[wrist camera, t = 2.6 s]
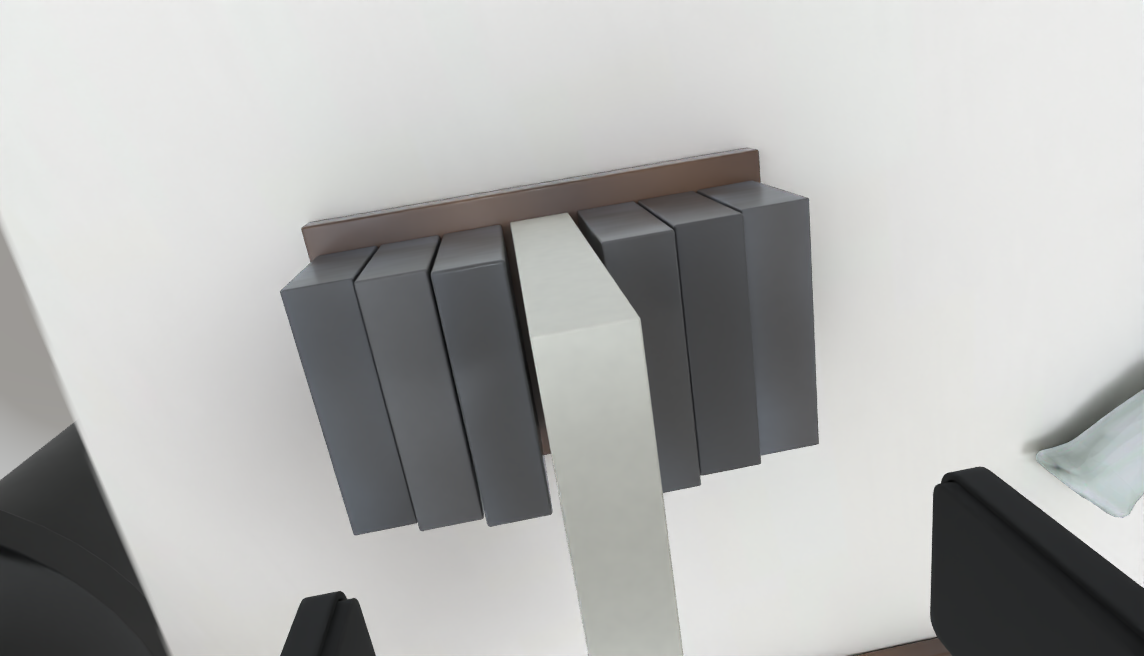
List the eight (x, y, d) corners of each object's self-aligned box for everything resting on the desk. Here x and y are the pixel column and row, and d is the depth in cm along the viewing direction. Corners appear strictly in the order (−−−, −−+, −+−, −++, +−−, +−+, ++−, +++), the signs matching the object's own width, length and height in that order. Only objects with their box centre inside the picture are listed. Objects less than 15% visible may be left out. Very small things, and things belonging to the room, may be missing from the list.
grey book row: (378, 475, 27) (346, 586, 21) (307, 222, 24) (244, 265, 18) (766, 400, 28) (844, 485, 22) (749, 147, 25) (835, 163, 19)
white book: (548, 430, 26) (594, 685, 15) (509, 221, 24) (529, 337, 12) (600, 421, 26) (685, 666, 15) (567, 212, 24) (641, 317, 12)
